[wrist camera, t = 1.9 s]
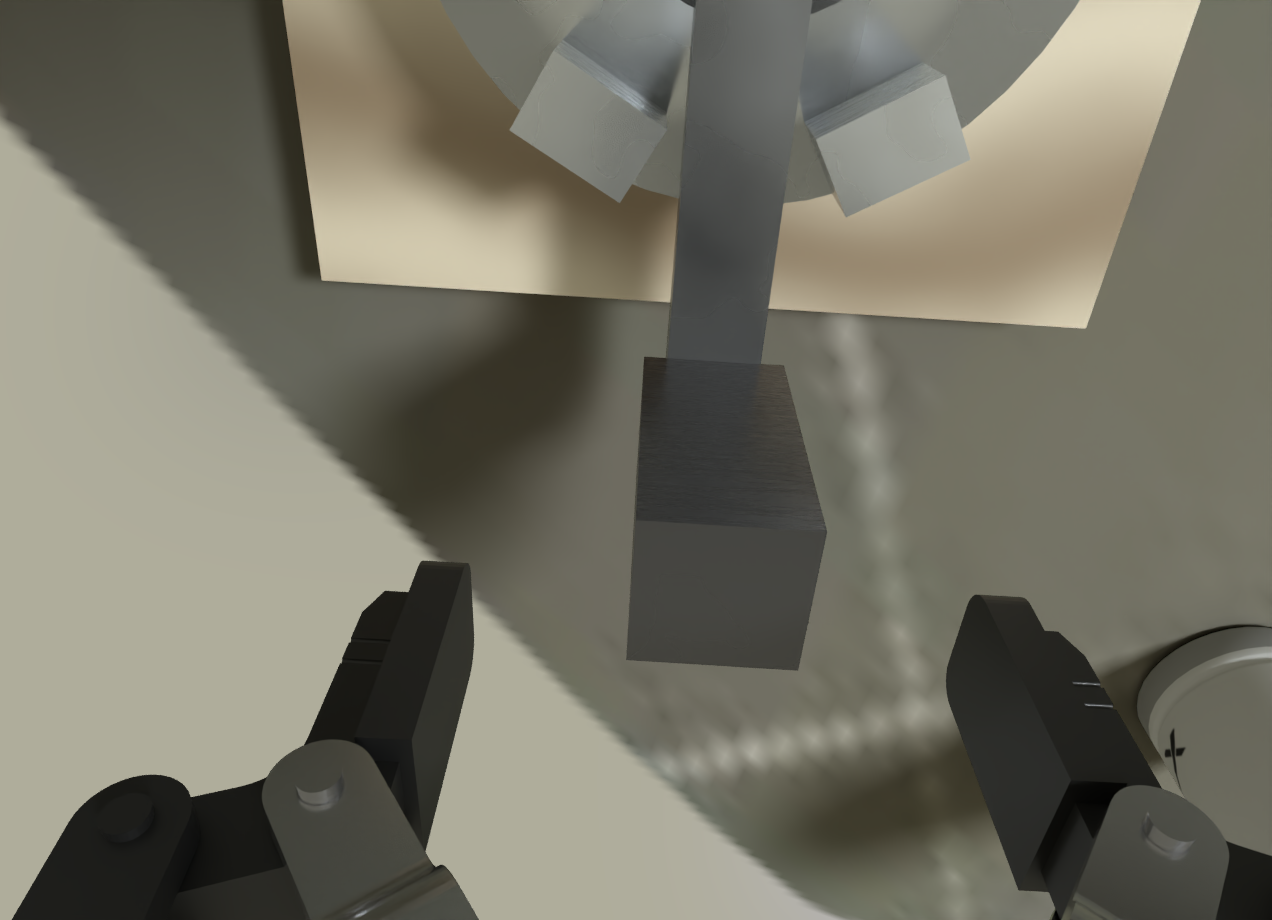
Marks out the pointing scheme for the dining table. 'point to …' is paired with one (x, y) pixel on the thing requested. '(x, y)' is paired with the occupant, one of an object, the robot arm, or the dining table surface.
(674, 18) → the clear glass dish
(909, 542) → the dining table surface
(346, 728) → the robot arm
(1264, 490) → the dining table surface
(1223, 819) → the travel mug
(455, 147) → the base plate
